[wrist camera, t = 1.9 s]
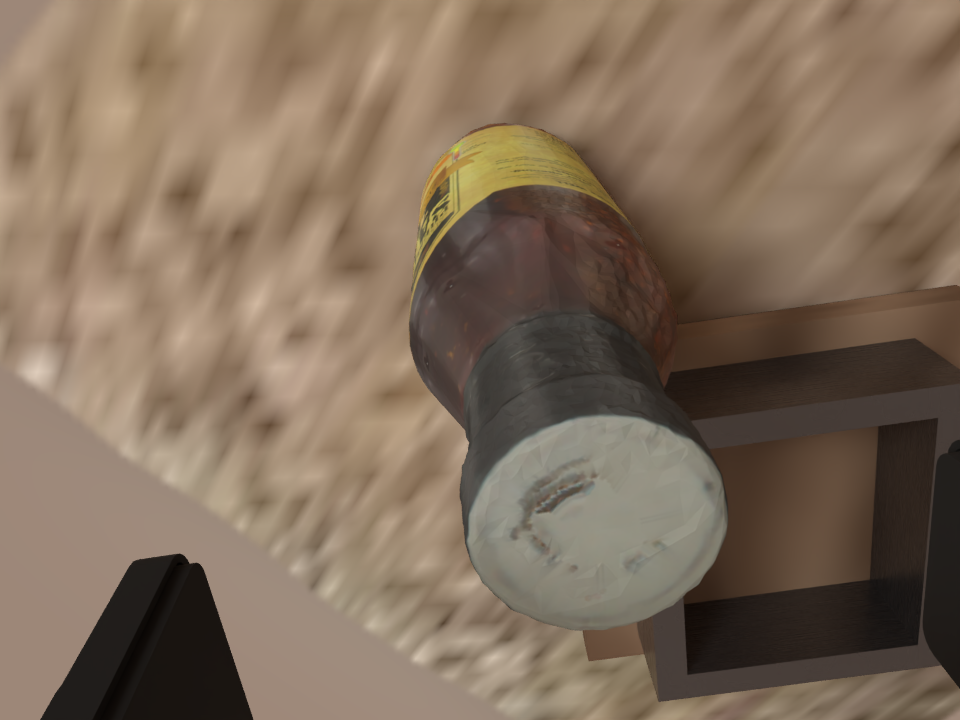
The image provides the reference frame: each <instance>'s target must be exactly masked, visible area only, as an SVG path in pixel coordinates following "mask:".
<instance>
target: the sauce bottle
mask: <svg viewBox="0 0 960 720" xmlns="http://www.w3.org/2000/svg"><path fill="white" fill-rule="evenodd" d="M411 289H412V295H411V306H410V316H409V339H410V347H411V352H412V356H413V359H414V362H415V365H416V368H417V371H418V373H419V375H420V376H421V378H422V380H423V382H424V383H425V385H426V386H427V388H428V389H429V390H430V391H431V393H432V394H433V395H434V396H435V397H436V398H437V399H438V400H439V402H440V403H441V404H442V405H443V406H444V407H445V408H446V409H447V410H448V412H449V413H450V414H451V415H452V416H453V417H454V418H455V419H456V421H457V422H458V423H459V424H460V425H461V426H462V427H463V428H464V429H465V431H466V438H467V439H468V441H469V447H468V453H467V455H466V459H465V462H464V464H463V465H462V477H461V484H460V500H461V504H462V518H463V525H464V535H465V544H466V548H467V551H468V554H469V557H470V560H471V563H472V565H473V567H474V569H475V570H476V572H477V573H478V575H479V577H480V579H481V580H482V582H483V583H484V584H485V585H486V586H487V587H488V588H489V589H490V590H491V591H492V592H493V593H494V595H495V596H497V597H498V598H500V599H501V600H502V601H503V602H504V603H505V604H506V605H507V606H508V607H509V608H510V609H512V610H513V611H516V612H519V613H521V614H524V615H526V616H528V617H531V618H533V619H535V620H537V621H540V622H543V623H546V624H549V625H553V626H558V627H562V628H566V629H570V630H607V629H611V628H615V627H621V626H627V625H630V624H633V623H636V622H639V621H642V620H645V619H647V618H649V617H651V616H653V615H655V614H657V613H659V612H660V611H662V610H664V609H666V608H668V607H670V606H673V605H674V604H675V603H676V602H677V601H679V600H680V599H681V598H682V597H683V596H684V595H685V594H686V593H687V592H688V591H690V590H691V589H693V588H694V587H696V586H697V585H699V583H700V582H701V580H702V578H703V576H704V575H705V574H706V573H707V571H708V570H709V569H710V568H711V567H712V566H713V564H714V562H715V560H716V558H717V556H718V554H719V552H720V549H721V547H722V544H723V542H724V539H725V537H726V533H727V526H728V502H727V495H726V490H725V486H724V481H723V477H722V474H721V472H720V470H719V468H718V466H717V464H716V462H715V460H714V458H713V456H712V454H711V451H710V450H709V448H708V446H707V444H706V443H705V441H704V440H703V439H702V437H701V435H700V433H699V431H698V430H697V428H696V427H695V426H694V425H693V423H692V422H691V420H690V419H689V417H688V415H687V414H686V413H685V412H684V411H683V410H682V409H681V408H680V407H679V406H678V405H677V404H676V403H675V402H674V401H673V400H671V399H670V398H669V397H668V396H666V394H665V393H664V387H665V385H666V384H667V380H668V377H669V375H670V371H671V368H672V365H673V361H674V356H675V346H676V343H677V340H678V337H677V314H676V312H675V310H674V308H673V305H672V301H671V295H670V293H669V291H668V289H667V287H666V281H665V280H664V279H663V277H662V276H661V274H660V271H659V269H658V266H657V265H656V264H655V263H654V262H653V260H652V258H651V257H650V256H649V253H648V250H647V248H646V246H645V245H644V243H643V241H642V239H641V237H640V236H639V234H638V233H637V232H636V230H635V229H634V227H633V226H632V225H631V223H630V222H629V221H628V219H627V218H626V217H625V216H624V214H623V213H622V212H621V210H620V209H619V208H618V206H617V205H616V204H615V202H614V201H613V200H612V198H611V197H610V196H609V194H608V193H607V192H606V191H605V189H604V188H603V187H602V185H601V184H600V183H599V181H598V180H597V179H596V177H595V176H594V175H593V173H592V172H591V171H590V169H589V168H588V167H587V166H586V164H585V163H584V162H583V161H582V159H581V158H580V157H579V156H578V154H577V153H576V152H575V151H574V150H573V149H572V148H571V147H570V146H569V145H567V144H566V143H565V142H563V141H561V140H560V139H558V138H556V137H555V136H554V135H552V134H549V133H547V132H546V131H544V130H542V129H536V128H532V127H528V126H525V125H518V124H507V123H501V124H488V125H486V126H484V127H481V128H478V129H475V130H473V131H471V132H470V133H468V134H467V135H466V136H464V137H463V138H462V139H460V140H459V141H457V143H456V144H455V145H453V146H452V147H451V148H450V149H449V150H448V151H447V152H446V153H445V154H443V155H442V156H441V157H440V159H439V160H438V161H437V163H436V164H435V166H434V168H433V169H432V171H431V173H430V175H429V177H428V179H427V181H426V184H425V187H424V190H423V195H422V199H421V207H420V216H419V226H418V235H417V243H416V249H415V260H414V267H413V283H412V288H411Z"/></svg>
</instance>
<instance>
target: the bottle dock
mask: <svg viewBox="0 0 960 720" xmlns="http://www.w3.org/2000/svg"><path fill="white" fill-rule="evenodd" d="M677 337H678V340H677V343H676V346H675V356H674V361H673V365H672V368H671V371H670V375H669V377H668V380H667V384H666V385H665V387H664V393H665V394H666V396H668V397H669V398H670V399H671V400H673V401H674V402H675V403H676V404H677V405H678V406H679V407H680V408H681V409H682V410H683V411H684V412H685V413H686V414H687V415H688V417H689V419H690V420H691V422H692V423H693V425H694V426H695V427H696V428H697V430H698V431H699V433H700V435H701V437H702V439H703V440H704V441H705V443H706V444H707V446H708V448H709V450H710V451H711V454H712V456H713V458H714V460H715V462H716V464H717V466H718V468H719V470H720V472H721V474H722V477H723V481H724V486H725V490H726V495H727V502H728V526H727V533H726V537H725V539H724V542H723V544H722V547H721V549H720V552H719V554H718V556H717V558H716V560H715V562H714V564H713V566H712V567H711V568H710V569H709V570H708V571H707V573H706V574H705V575H704V576H703V578H702V580H701V582H700V583H699V585H697V586H696V587H694V588H693V589H691V590H690V591H688V592H687V593H686V594H685V595H684V596H683V597H682V598H681V599H680V600H679V601H677V602H676V603H675V604H674V605H673V606H670V607H668V608H666V609H664V610H662V611H660V612H659V613H657V614H655V615H653V616H651V617H649V618H647V619H645V620H642V621H639V622H636V623H633V624H630V625H627V626H621V627H615V628H611V629H607V630H583V635H584V641H585V646H586V651H587V655H588V660H589V661H594V660H602V659H610V658H617V657H625V656H633V655H640V654H644V655H645V658H646V661H647V665H648V668H649V671H650V675H651V678H652V681H653V685H654V688H655V691H656V695H657V698H658V701H659V702H661V701H669V700H677V699H684V698H692V697H700V696H708V695H715V694H723V693H731V692H738V691H746V690H754V689H762V688H769V687H777V686H785V685H793V684H800V683H808V682H816V681H823V680H831V679H839V678H847V677H854V676H862V675H870V674H878V673H885V672H893V671H901V670H908V669H916V668H924V667H932V666H939V665H941V664H940V663H939V661H938V660H937V659H936V658H935V656H934V655H933V653H932V652H931V650H930V649H929V647H928V644H927V642H926V639H925V636H924V632H923V610H924V598H925V587H926V576H927V564H928V553H929V541H930V530H931V518H932V507H933V496H934V484H935V473H936V464H937V460H938V458H939V457H940V455H942V454H945V453H948V449H949V447H950V446H951V444H952V443H953V442H955V441H956V440H960V287H959V286H957V285H953V286H946V287H939V288H932V289H925V290H918V291H911V292H904V293H897V294H890V295H883V296H876V297H869V298H862V299H855V300H848V301H841V302H833V303H826V304H819V305H812V306H805V307H798V308H791V309H784V310H777V311H770V312H763V313H756V314H749V315H742V316H735V317H728V318H720V319H713V320H706V321H699V322H692V323H685V324H678V325H677Z"/></svg>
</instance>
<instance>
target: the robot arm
mask: <svg viewBox="0 0 960 720" xmlns="http://www.w3.org/2000/svg"><path fill="white" fill-rule="evenodd" d="M923 632H924V636H925V639H926V642H927V644H928V647H929V649H930V650H931V652H932V653H933V655H934V656H935V658H936V659H937V660H938V661H939V663H940V664H941V665H942V667H943V668H944V669H945V670H946V672H947V673H948V674H949V675H950V677H951V678H952V679H953V681H954V682H955V683H956V684H957V686H958V687H959V688H960V440H956V441H955V442H953V443H952V444H951V446H950V447H949V449H948V453H945V454H942V455H940V457H939V458H938V460H937V464H936V473H935V484H934V496H933V507H932V518H931V530H930V541H929V553H928V564H927V576H926V587H925V598H924V610H923ZM40 720H253V717H252V714H251V711H250V708H249V705H248V702H247V699H246V696H245V693H244V690H243V687H242V684H241V681H240V678H239V675H238V672H237V669H236V666H235V663H234V659H233V656H232V653H231V650H230V647H229V645H228V641H227V638H226V635H225V632H224V629H223V626H222V623H221V620H220V617H219V614H218V611H217V608H216V605H215V602H214V599H213V596H212V593H211V590H210V587H209V584H208V581H207V578H206V575H205V572H204V570H203V568H202V566H201V565H200V564H199V563H192V564H189V562H188V560H187V559H186V557H185V556H184V555H182V554H173V555H167V556H160V557H153V558H146V559H139V560H136V561H134V562H133V563H132V564H131V565H130V566H129V568H128V570H127V571H126V573H125V575H124V577H123V578H122V580H121V582H120V584H119V585H118V587H117V589H116V591H115V592H114V594H113V596H112V598H111V599H110V602H109V603H108V605H107V607H106V608H105V610H104V612H103V613H102V616H101V617H100V619H99V620H98V622H97V624H96V626H95V628H94V629H93V631H92V633H91V634H90V637H89V638H88V640H87V641H86V643H85V645H84V647H83V649H82V650H81V652H80V654H79V656H78V657H77V659H76V661H75V663H74V664H73V666H72V668H71V670H70V671H69V674H68V675H67V677H66V678H65V680H64V682H63V684H62V685H61V687H60V688H59V689H58V690H57V692H56V693H55V695H54V697H53V698H52V700H51V702H50V704H49V706H48V707H47V709H46V711H45V712H44V714H43V716H42V718H41V719H40Z"/></svg>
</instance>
